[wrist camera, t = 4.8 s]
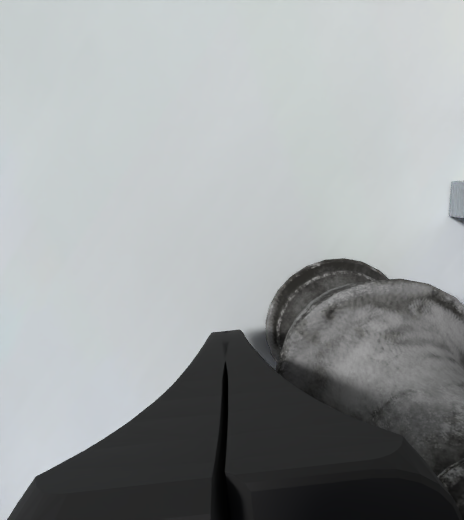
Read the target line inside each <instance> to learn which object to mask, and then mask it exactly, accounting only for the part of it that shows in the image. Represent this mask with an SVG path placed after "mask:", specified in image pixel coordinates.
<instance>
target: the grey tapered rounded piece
mask: <svg viewBox="0 0 464 520" xmlns="http://www.w3.org/2000/svg"><path fill="white" fill-rule="evenodd" d="M266 339H267V342H268V345H269V348H270V351H271V354H272V356H273V358H274V359H275V360H276V362H277V367H276V370H275V371H276V372H277V373H278V374H280V375H281V376H282V377H283V378H284V379H286V380H287V381H288V382H290V383H291V384H292V385H294V386H295V387H297V388H298V389H300V390H301V391H303V392H304V393H306V394H308V395H310V396H311V397H313V398H315V399H316V400H318V401H320V402H322V403H324V404H326V405H328V406H330V407H331V408H333V409H336V410H338V411H340V412H342V413H344V414H347V415H349V416H351V417H353V418H355V419H358V420H360V421H363V422H366V423H369V424H371V425H374V426H377V427H380V428H383V429H385V430H388V431H391V432H394V433H396V434H399V435H402V436H403V437H404V438H405V439H406V440H407V441H408V443H409V444H410V445H411V446H412V447H413V448H414V449H415V450H416V451H417V453H418V454H419V455H420V456H421V457H422V458H423V459H424V460H425V462H426V463H427V464H428V465H429V467H430V468H431V469H432V470H433V472H434V473H435V474H436V475H437V477H438V478H439V480H440V481H441V482H442V484H443V485H444V486H445V488H446V489H447V490H448V492H449V493H450V494H451V496H452V497H453V498H454V500H455V502H456V505H457V507H458V509H459V511H460V513H461V516H462V520H464V305H463V304H462V303H460V302H459V301H458V300H457V299H456V298H455V297H453V296H451V295H449V294H447V293H446V292H444V291H442V290H440V289H438V288H436V287H434V286H432V285H429V284H426V283H420V282H415V281H409V280H404V279H391V280H389V279H388V278H387V277H386V276H384V275H383V274H382V273H381V272H380V271H379V270H377V269H375V268H373V267H371V266H369V265H367V264H365V263H363V262H360V261H355V260H349V259H331V260H324V261H321V262H318V263H315V264H312V265H309V266H306V267H305V268H303V269H302V270H300V271H299V272H297V273H296V274H294V275H292V276H291V277H290V278H289V279H288V280H287V281H286V282H285V283H284V284H283V285H282V287H281V288H280V289H279V290H278V291H277V293H276V295H275V297H274V299H273V301H272V302H271V304H270V306H269V311H268V315H267V319H266Z"/></svg>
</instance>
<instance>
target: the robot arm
mask: <svg viewBox="0 0 464 520" xmlns="http://www.w3.org/2000/svg"><path fill="white" fill-rule="evenodd" d="M7 520H462V516H461V513H460V511H459V509H458V507H457V505H456V502H455V500H454V498H453V497H452V496H451V494H450V493H449V492H448V490H447V489H446V488H445V486H444V485H443V484H442V482H441V481H440V480H439V478H438V477H437V475H436V474H435V473H434V472H433V470H432V469H431V468H430V467H429V465H428V464H427V463H426V462H425V460H424V459H423V458H422V457H421V456H420V455H419V454H418V453H417V451H416V450H415V449H414V448H413V447H412V446H411V445H410V444H409V443H408V441H407V440H406V439H405V438H404V437H403V436H402V435H399V434H396V433H394V432H391V431H388V430H385V429H383V428H380V427H377V426H374V425H371V424H369V423H366V422H363V421H360V420H358V419H355V418H353V417H351V416H349V415H347V414H344V413H342V412H340V411H338V410H336V409H333V408H331V407H330V406H328V405H326V404H324V403H322V402H320V401H318V400H316V399H315V398H313V397H311V396H310V395H308V394H306V393H304V392H303V391H301V390H300V389H298V388H297V387H295V386H294V385H292V384H291V383H290V382H288V381H287V380H286V379H284V378H283V377H282V376H281V375H280V374H278V373H277V372H276V371H275V370H274V369H273V368H272V367H271V366H270V365H269V364H268V363H267V362H266V361H265V360H264V359H263V358H262V357H261V356H260V355H259V354H258V353H257V352H256V350H255V349H254V348H253V347H252V346H251V344H250V343H249V342H248V340H247V339H246V337H245V335H244V334H243V332H242V331H241V330H232V331H223V332H213V333H211V335H210V336H209V337H208V339H207V340H206V342H205V344H204V345H203V347H202V348H201V350H200V351H199V353H198V354H197V355H196V357H195V358H194V360H193V361H192V362H191V364H190V365H189V366H188V368H187V369H186V370H185V371H184V372H183V373H182V375H181V376H180V377H179V378H178V379H177V381H176V382H175V383H174V384H173V385H172V386H171V387H170V388H169V389H168V390H167V391H166V392H165V393H164V394H163V395H161V396H160V397H159V398H158V399H157V400H156V401H155V402H154V403H152V404H151V405H150V406H149V407H147V408H146V409H145V410H143V411H142V412H141V413H140V414H138V415H137V416H136V417H135V418H133V419H132V420H131V421H129V422H128V423H127V424H125V425H124V426H122V427H121V428H119V429H118V430H116V431H115V432H114V433H112V434H110V435H109V436H107V437H106V438H104V439H103V440H101V441H99V442H98V443H96V444H95V445H93V446H91V447H90V448H88V449H86V450H85V451H83V452H81V453H79V454H77V455H75V456H74V457H72V458H70V459H68V460H66V461H64V462H63V463H61V464H59V465H57V466H55V467H53V468H52V469H50V470H48V471H46V472H44V473H42V474H40V475H38V476H36V477H35V479H34V480H33V482H32V483H31V484H30V486H29V487H28V489H27V490H26V492H25V493H24V495H23V496H22V498H21V499H20V501H19V502H18V503H17V505H16V507H15V508H14V510H13V511H12V513H11V514H10V516H9V518H8V519H7Z"/></svg>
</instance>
